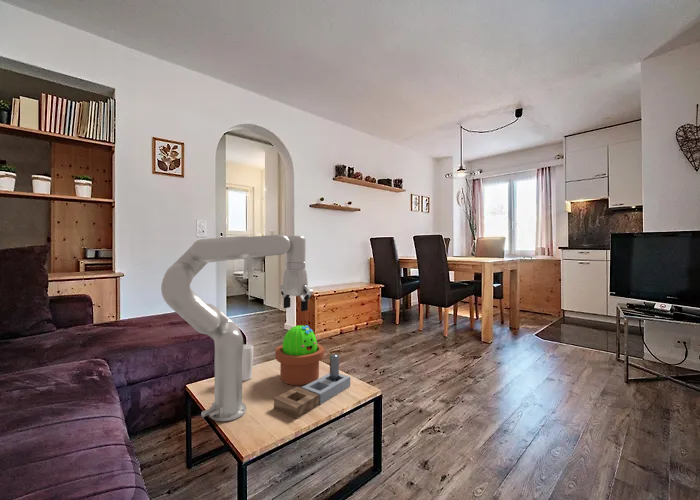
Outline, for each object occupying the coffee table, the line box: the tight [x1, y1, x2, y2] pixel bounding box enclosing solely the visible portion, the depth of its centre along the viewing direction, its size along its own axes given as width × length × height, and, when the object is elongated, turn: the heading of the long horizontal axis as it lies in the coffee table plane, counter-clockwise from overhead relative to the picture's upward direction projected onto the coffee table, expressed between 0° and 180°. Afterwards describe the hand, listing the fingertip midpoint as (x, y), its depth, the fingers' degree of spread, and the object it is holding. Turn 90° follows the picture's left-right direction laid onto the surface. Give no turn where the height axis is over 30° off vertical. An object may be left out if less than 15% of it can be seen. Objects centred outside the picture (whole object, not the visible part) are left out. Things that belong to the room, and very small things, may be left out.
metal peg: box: [329, 353, 340, 382], centre depth 139 cm, size 4×4×14 cm
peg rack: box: [301, 372, 351, 405], centre depth 136 cm, size 20×10×4 cm, turn 144°
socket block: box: [273, 386, 320, 420], centre depth 122 cm, size 12×12×4 cm
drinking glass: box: [242, 343, 254, 382], centre depth 147 cm, size 7×7×15 cm
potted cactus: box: [274, 324, 325, 386], centre depth 149 cm, size 22×22×25 cm
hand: (295, 309), depth 128 cm, fingers open, 9 cm apart
